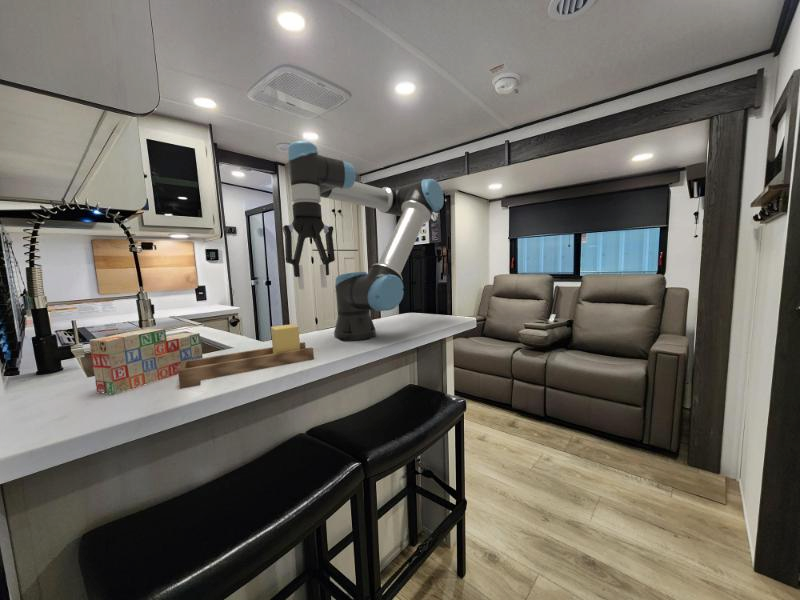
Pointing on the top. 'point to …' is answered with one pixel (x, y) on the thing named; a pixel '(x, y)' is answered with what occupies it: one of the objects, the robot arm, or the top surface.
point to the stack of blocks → (140, 358)
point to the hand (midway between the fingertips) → (313, 288)
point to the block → (285, 338)
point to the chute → (238, 364)
